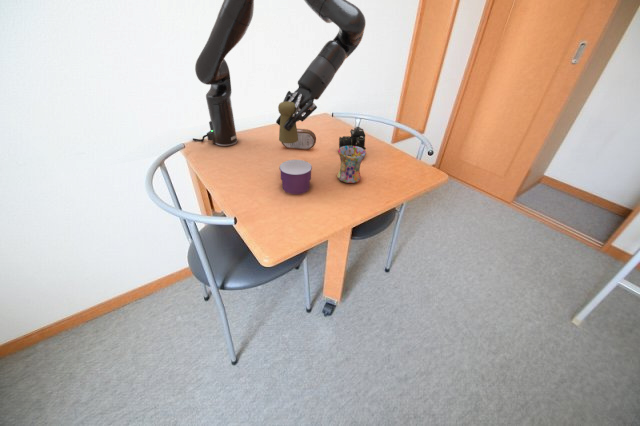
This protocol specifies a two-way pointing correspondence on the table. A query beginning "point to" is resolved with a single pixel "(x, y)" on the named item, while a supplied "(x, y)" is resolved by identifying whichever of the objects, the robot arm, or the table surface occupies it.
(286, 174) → the yogurt tub
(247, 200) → the table surface
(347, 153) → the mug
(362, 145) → the film camera
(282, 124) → the olive green pawn
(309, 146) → the tin
